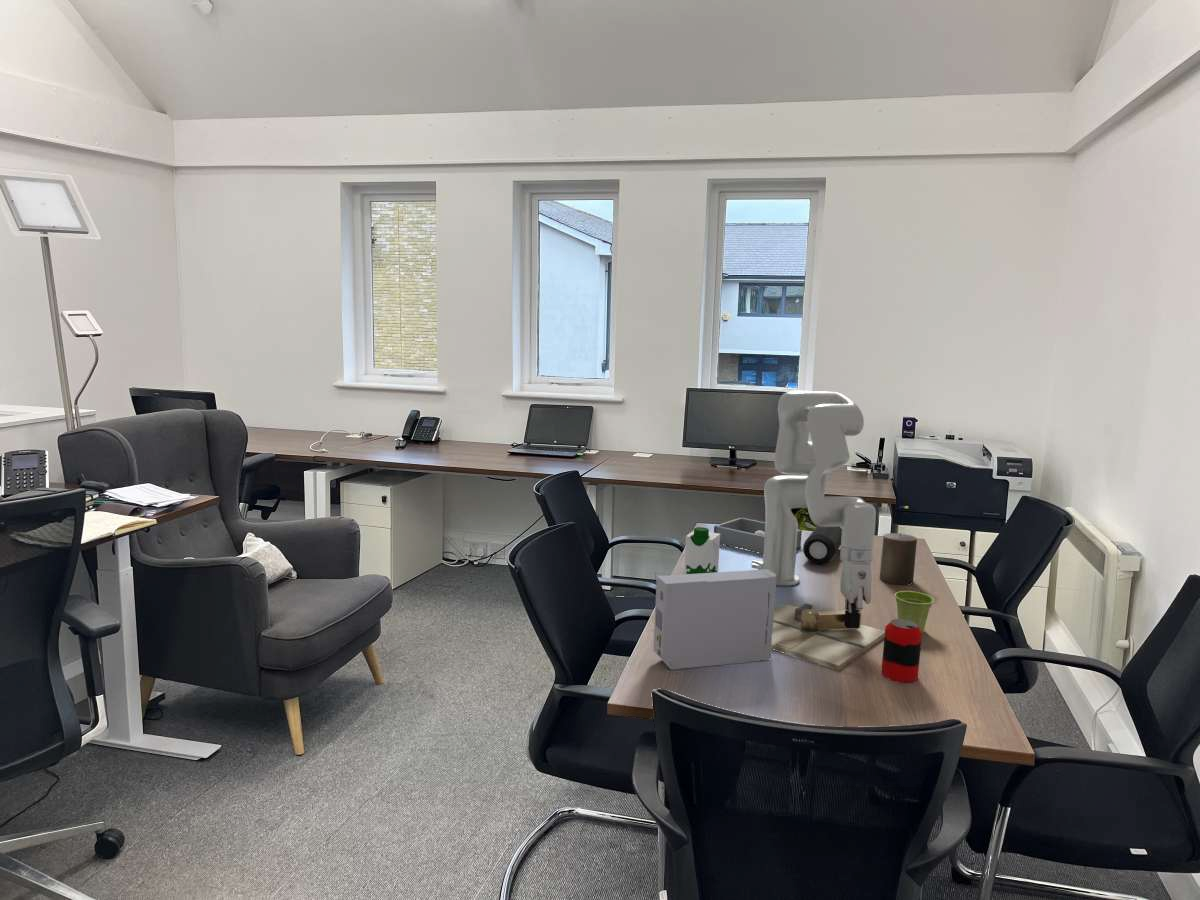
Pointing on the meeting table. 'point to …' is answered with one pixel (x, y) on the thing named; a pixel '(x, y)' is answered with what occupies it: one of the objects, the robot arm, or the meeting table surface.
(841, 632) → the lock board
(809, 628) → the swing bar
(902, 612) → the plant pot
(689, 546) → the milk carton
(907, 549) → the pillar candle
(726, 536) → the organiser frame
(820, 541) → the portable speaker
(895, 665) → the soda can
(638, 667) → the meeting table surface
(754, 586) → the game console
